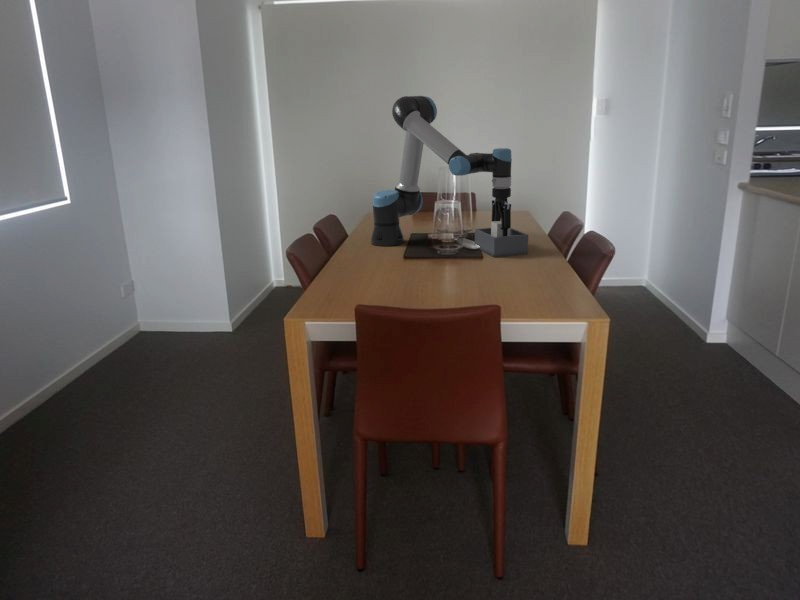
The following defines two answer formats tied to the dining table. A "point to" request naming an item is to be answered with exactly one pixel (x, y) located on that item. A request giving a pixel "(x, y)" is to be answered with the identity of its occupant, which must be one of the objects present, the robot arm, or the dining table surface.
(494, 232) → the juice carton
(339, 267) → the dining table surface
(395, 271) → the dining table surface
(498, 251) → the bin
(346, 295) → the dining table surface
